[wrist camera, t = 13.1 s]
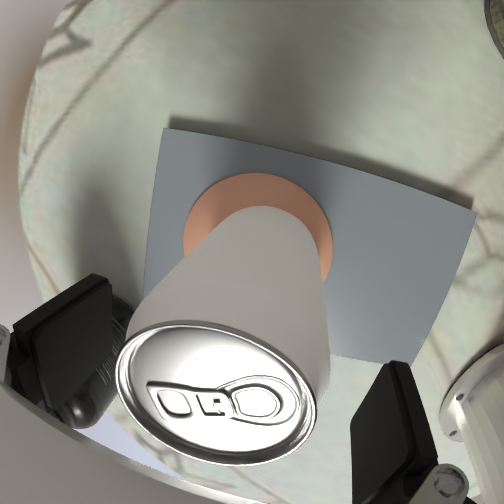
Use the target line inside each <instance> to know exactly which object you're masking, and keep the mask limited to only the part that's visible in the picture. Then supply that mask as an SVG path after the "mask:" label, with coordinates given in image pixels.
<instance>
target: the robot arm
mask: <svg viewBox="0 0 504 504" xmlns="http://www.w3.org/2000/svg"><path fill="white" fill-rule="evenodd" d="M13 329H14V332H12V333H11V334H10V332H9V330H8V329H7V328H6V327H5V326H3V325H1V324H0V504H268V503H263V502H259V501H254V500H250V499H246V498H242V497H238V496H234V495H230V494H226V493H223V492H219V491H216V490H212V489H209V488H206V487H203V486H199V485H196V484H193V483H190V482H187V481H185V480H182V479H179V478H176V477H173V476H171V475H168V474H165V473H163V472H160V471H158V470H155V469H153V468H151V467H148V466H146V465H143V464H141V463H139V462H137V461H134V460H132V459H130V458H128V457H126V456H123V455H121V454H119V453H117V452H115V451H113V450H111V449H109V448H107V447H105V446H103V445H101V444H99V443H97V442H95V441H94V440H92V439H90V438H88V437H86V436H84V435H83V434H81V433H79V432H77V431H76V430H74V429H72V428H71V427H69V426H67V425H66V424H64V423H62V422H61V421H59V420H57V419H56V418H54V417H53V416H51V415H50V413H51V412H52V411H53V410H58V409H59V408H60V407H61V406H62V405H63V404H64V403H65V402H66V400H67V399H68V398H69V397H70V396H71V395H72V394H73V393H74V392H75V391H76V390H77V389H78V387H79V386H80V385H81V384H82V383H83V382H84V381H85V380H86V379H87V378H88V377H89V376H90V375H91V374H92V373H93V371H94V370H95V369H96V368H97V367H98V366H99V365H100V364H101V363H102V362H103V361H104V360H105V359H106V358H107V357H108V356H109V354H110V353H111V351H112V348H113V337H112V286H111V284H109V281H108V279H107V278H105V277H102V276H99V275H97V274H90V275H89V276H87V277H85V278H84V279H82V280H81V281H79V282H77V283H76V284H74V285H73V286H71V287H69V288H68V289H66V290H65V291H63V292H62V293H60V294H58V295H57V296H55V297H54V298H52V299H51V300H49V301H48V302H46V303H44V304H43V305H42V306H40V307H38V308H37V309H35V310H34V311H32V312H31V313H29V314H28V315H26V316H25V317H23V318H22V319H21V320H19V321H17V322H16V323H15V324H13ZM439 422H440V426H441V429H442V431H443V434H444V435H445V436H446V438H448V439H450V440H452V441H457V442H464V444H465V447H466V449H467V452H468V455H469V458H470V461H471V463H472V466H473V469H474V472H475V475H476V478H477V481H478V485H479V488H480V491H481V494H482V498H483V501H484V504H504V343H503V344H501V345H499V346H497V347H496V348H494V349H492V350H491V351H489V352H488V353H486V354H485V355H484V356H482V357H481V358H480V359H479V360H477V361H476V362H475V363H474V364H473V365H472V366H471V367H470V368H469V369H468V370H466V371H465V373H464V374H463V375H462V376H461V377H460V378H459V379H458V380H457V382H456V383H455V384H454V386H453V387H452V388H451V390H450V391H449V393H448V394H447V396H446V398H445V400H444V402H443V404H442V407H441V410H440V415H439ZM350 434H351V457H352V504H477V503H475V502H474V501H472V500H471V499H470V498H468V497H467V494H468V490H469V482H468V479H467V476H466V475H465V474H464V472H463V471H462V470H461V469H459V468H458V467H456V466H454V465H452V464H447V463H446V464H440V465H439V464H438V460H437V458H438V455H437V451H436V447H435V444H434V440H433V437H432V433H431V430H430V427H429V423H428V420H427V417H426V413H425V410H424V407H423V404H422V401H421V398H420V395H419V392H418V389H417V386H416V383H415V380H414V377H413V375H412V372H411V369H410V366H409V364H408V363H406V362H401V361H396V360H391V361H390V362H389V363H385V364H384V365H383V366H382V368H381V370H380V372H379V374H378V375H377V377H376V379H375V381H374V383H373V384H372V386H371V388H370V390H369V391H368V393H367V395H366V396H365V398H364V400H363V401H362V403H361V405H360V406H359V408H358V410H357V411H356V413H355V414H354V416H353V418H352V420H351V424H350Z"/></svg>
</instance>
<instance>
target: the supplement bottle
mask: <svg viewBox="0 0 504 504" xmlns="http://www.w3.org/2000/svg"><path fill="white" fill-rule="evenodd" d="M133 314H134V311H133V310H132V309H131V308H130V307H129V306H128V305H127V304H126V303H124V302H123V301H121V300H120V299H118V298H116V297H114V296H112V337H113V348H112V351H111V353H110V354H109V356H108V357H107V358H106V359H105V360H104V361H103V362H102V363H101V364H100V365H99V366H98V367H97V368H96V369H95V370H94V371H93V373H92V374H91V375H90V376H89V377H88V378H87V379H86V380H85V381H84V382H83V383H82V384H81V385H80V386H79V387H78V389H77V390H76V391H75V392H74V393H73V394H72V395H71V396H70V397H69V398H68V399H67V400H66V402H65V403H64V404H63V405H62V406H61V407H60V408H59V409H58V410H53V411H52V412H51V413H50V415H51V416H53V417H54V418H56V419H57V420H59V421H61V422H62V423H64V424H66V425H67V426H69V427H71V428H72V429H73V428H75V429H85V428H89V427H91V426H93V425H95V424H96V423H97V422H98V420H99V419H100V418H101V416H102V415H103V413H104V412H105V411H106V409H107V408H108V406H109V405H110V404H111V402H112V401H113V399H114V398H115V396H116V395H117V394H118V391H117V388H116V384H115V378H114V366H115V361H116V357H117V354H118V352H119V350H120V348H121V347H122V345H123V344H124V343H125V340H126V334H127V329H128V326H129V323H130V320H131V318H132V316H133Z"/></svg>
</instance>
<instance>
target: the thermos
mask: <svg viewBox="0 0 504 504" xmlns="http://www.w3.org/2000/svg"><path fill="white" fill-rule="evenodd" d="M485 16H486V21H487V26H488V29H489V31H490V33H491V36H492V38H493V41H494V43H495V45H496V47H497V48H498V50H499V52H500V53H501V55H502V57H503V59H504V0H486V4H485Z"/></svg>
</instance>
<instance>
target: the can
mask: <svg viewBox="0 0 504 504" xmlns="http://www.w3.org/2000/svg"><path fill="white" fill-rule="evenodd" d="M114 378H115V384H116V388H117V391H118V394H119V396H120V398H121V401H122V402H123V404H124V406H125V408H126V409H127V411H128V412H129V413H130V415H131V416H132V417H133V419H134V420H135V421H136V422H137V423H138V424H139V425H140V426H141V427H142V428H143V429H144V430H145V431H146V432H148V433H149V434H150V435H151V436H152V437H154V438H155V439H157V440H158V441H159V442H161V443H163V444H164V445H166V446H168V447H169V448H171V449H173V450H175V451H177V452H179V453H181V454H184V455H186V456H189V457H191V458H194V459H197V460H201V461H205V462H209V463H213V464H219V465H228V466H251V465H259V464H264V463H268V462H272V461H275V460H278V459H280V458H283V457H285V456H287V455H289V454H290V453H292V452H293V451H295V450H296V449H298V448H299V447H300V446H301V445H302V444H303V443H304V442H305V441H306V440H307V439H308V437H309V436H310V434H311V433H312V431H313V428H314V426H315V423H316V419H317V409H318V408H319V406H320V405H321V403H322V401H323V399H324V397H325V394H326V392H327V389H328V385H329V379H330V348H329V336H328V325H327V316H326V307H325V298H324V290H323V282H322V275H321V268H320V262H319V256H318V251H317V247H316V244H315V242H314V239H313V237H312V235H311V233H310V232H309V230H308V229H307V227H306V226H305V225H304V224H303V223H302V222H301V221H300V220H299V219H298V218H296V217H295V216H294V215H292V214H290V213H288V212H286V211H284V210H282V209H279V208H275V207H270V206H253V207H248V208H244V209H241V210H239V211H237V212H235V213H233V214H231V215H230V216H228V217H227V218H226V219H225V220H223V221H222V222H221V223H220V224H219V225H218V226H217V227H216V228H215V229H213V230H212V231H211V232H210V233H209V234H208V235H207V236H206V237H205V238H204V239H203V240H202V241H201V242H200V243H199V244H198V245H197V246H196V247H195V248H193V249H192V250H191V251H190V252H189V253H188V254H187V255H186V256H185V257H184V258H183V259H182V260H181V261H180V262H179V263H178V264H177V265H176V266H175V267H174V268H173V269H172V270H171V271H170V272H169V273H168V274H167V275H166V276H165V277H164V278H163V279H162V280H161V281H160V282H159V283H158V284H157V285H156V286H155V287H154V288H153V289H152V291H151V292H150V293H149V294H148V295H147V296H146V297H145V298H144V300H143V301H142V302H141V303H140V305H139V306H138V308H137V309H136V311H135V312H134V314H133V316H132V318H131V320H130V323H129V326H128V329H127V334H126V340H125V343H124V344H123V345H122V347H121V348H120V350H119V352H118V354H117V357H116V361H115V366H114Z"/></svg>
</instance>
